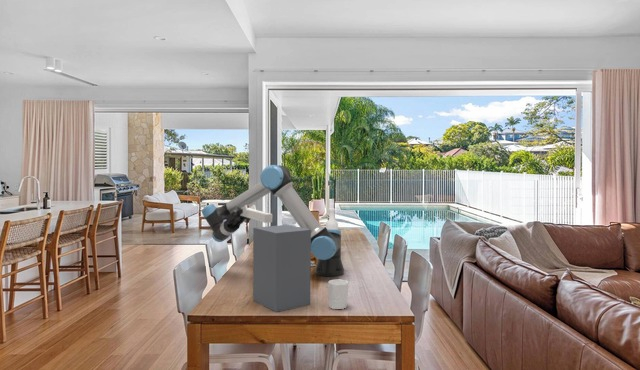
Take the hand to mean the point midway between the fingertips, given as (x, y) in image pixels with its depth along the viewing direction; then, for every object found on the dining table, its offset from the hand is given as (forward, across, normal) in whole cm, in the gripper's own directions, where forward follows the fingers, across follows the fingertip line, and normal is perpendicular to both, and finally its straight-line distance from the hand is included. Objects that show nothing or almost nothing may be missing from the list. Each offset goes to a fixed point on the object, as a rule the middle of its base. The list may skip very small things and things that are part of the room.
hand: (250, 207), depth 196 cm
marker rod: (+1, 0, -6) cm, 6 cm away
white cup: (+26, -13, -54) cm, 61 cm away
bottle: (-44, -75, -17) cm, 89 cm away
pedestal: (+9, +1, -46) cm, 47 cm away
